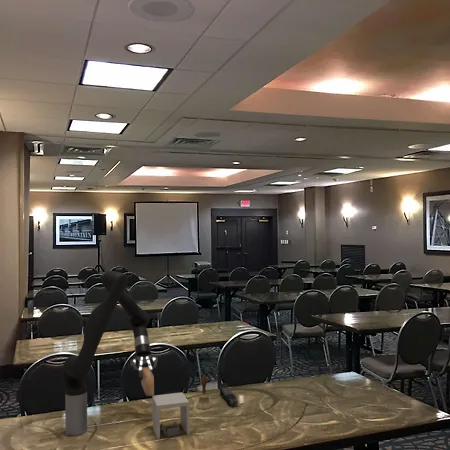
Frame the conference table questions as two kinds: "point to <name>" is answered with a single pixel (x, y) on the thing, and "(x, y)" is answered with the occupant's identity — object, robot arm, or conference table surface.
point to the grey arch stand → (170, 402)
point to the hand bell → (204, 396)
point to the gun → (227, 394)
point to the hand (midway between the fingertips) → (146, 378)
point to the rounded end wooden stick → (147, 381)
